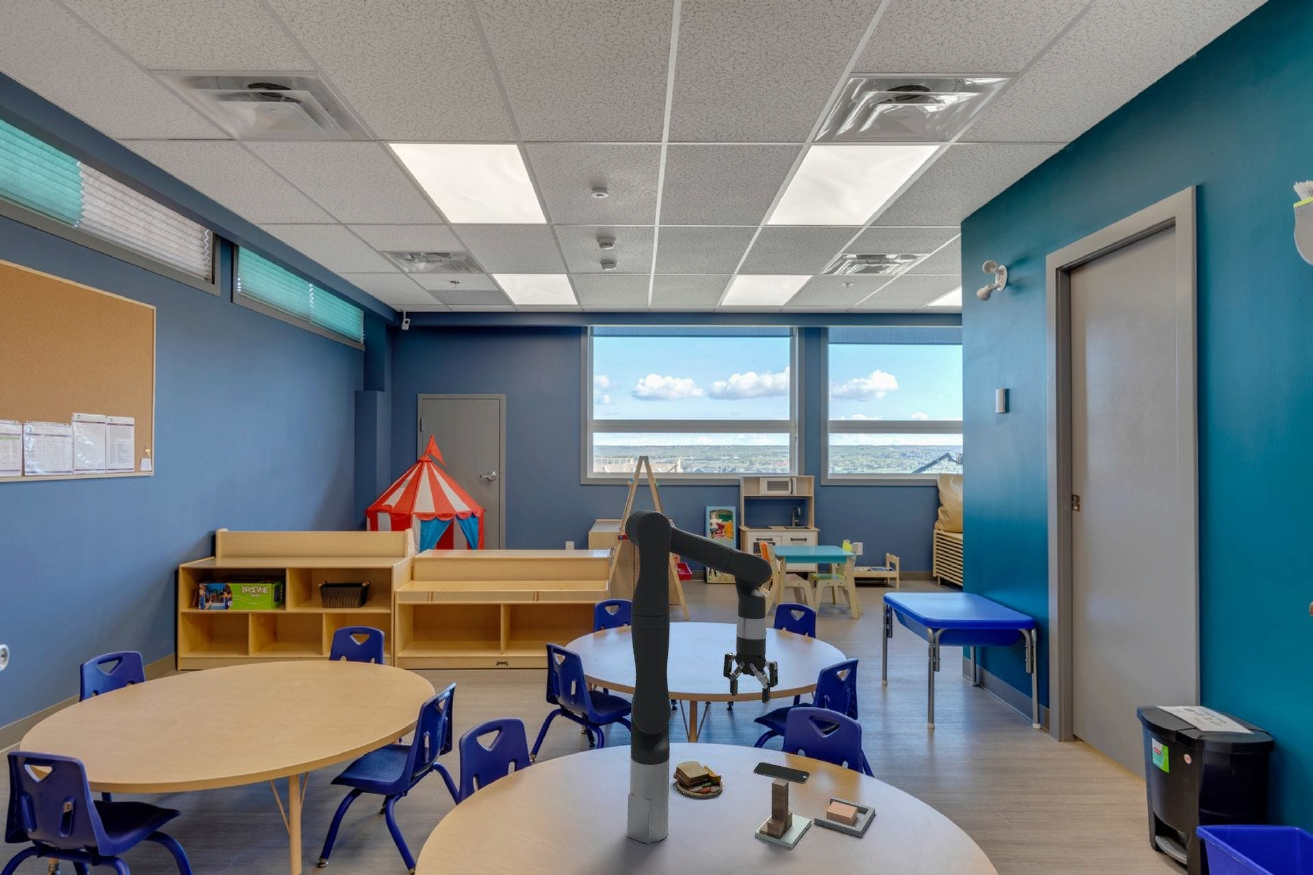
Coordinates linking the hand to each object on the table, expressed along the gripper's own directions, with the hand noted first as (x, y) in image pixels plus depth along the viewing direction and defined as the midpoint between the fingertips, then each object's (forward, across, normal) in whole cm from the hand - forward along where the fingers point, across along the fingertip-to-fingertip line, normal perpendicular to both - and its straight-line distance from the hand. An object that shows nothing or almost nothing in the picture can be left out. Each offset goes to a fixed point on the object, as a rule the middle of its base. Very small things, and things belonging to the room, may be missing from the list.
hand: (749, 698), depth 170 cm
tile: (+28, +21, +10) cm, 36 cm away
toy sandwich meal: (+28, -16, +4) cm, 33 cm away
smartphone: (+28, -1, +25) cm, 37 cm away
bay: (+27, +21, +11) cm, 36 cm away
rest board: (+27, +11, -4) cm, 30 cm away
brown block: (+26, +12, -6) cm, 29 cm away
